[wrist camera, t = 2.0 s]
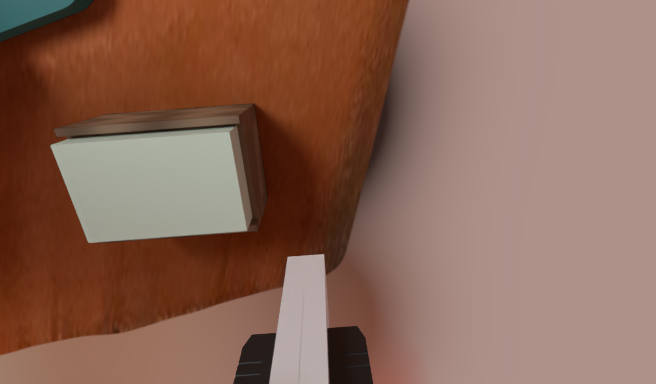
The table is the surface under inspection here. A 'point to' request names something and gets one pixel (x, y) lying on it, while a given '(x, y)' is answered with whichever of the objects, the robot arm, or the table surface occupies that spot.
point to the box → (190, 120)
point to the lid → (156, 183)
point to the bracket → (34, 14)
